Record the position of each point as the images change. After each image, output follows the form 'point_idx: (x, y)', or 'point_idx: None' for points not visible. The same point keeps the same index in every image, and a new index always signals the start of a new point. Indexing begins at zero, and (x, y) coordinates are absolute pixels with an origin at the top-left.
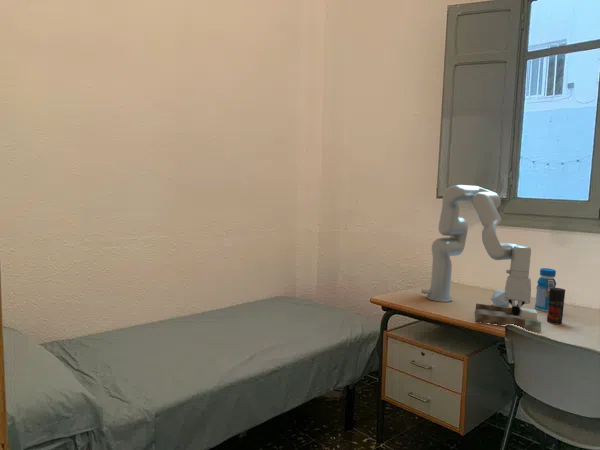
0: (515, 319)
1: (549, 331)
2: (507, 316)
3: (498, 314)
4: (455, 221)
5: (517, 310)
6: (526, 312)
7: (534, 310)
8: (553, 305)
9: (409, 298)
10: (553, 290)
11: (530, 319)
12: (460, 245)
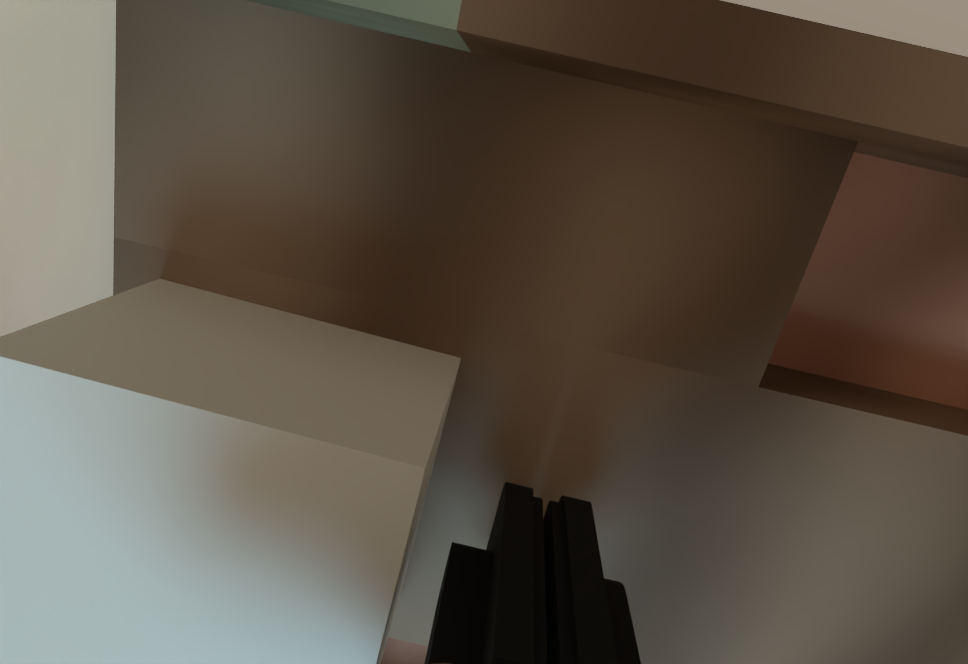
0: (756, 20)
1: (10, 20)
2: (659, 568)
3: (796, 660)
4: None
5: (516, 577)
6: (295, 423)
7: (25, 626)
8: None
9: None
10: None
11: (258, 322)
12: None
